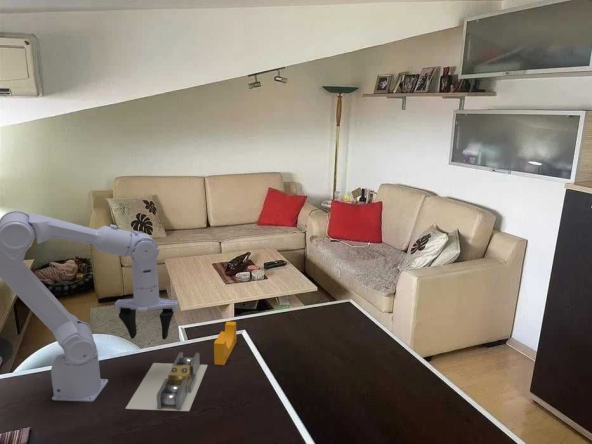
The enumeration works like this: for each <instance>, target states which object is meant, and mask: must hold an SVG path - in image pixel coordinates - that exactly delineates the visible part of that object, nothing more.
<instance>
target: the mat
mask: <svg viewBox="0 0 592 444" xmlns="http://www.w3.org/2000/svg"><path fill="white" fill-rule="evenodd" d="M173 364H174V363H168V362H167V363H166V362H165V363H164V362H163V363H162V362H161V363H160V362H152V365H151V367H149V370H148V371H147V372H146V374H145V376H144V377H143V379H142V381H141V382H140V384H139V385H138V387H137V389H136V390H135V392H134V393H133V395H132V396H131V398H130V400H129V402H128V404H127V405H126V406H125V409H126V410H148V411H172V412H173V411H174V412H190V410H191V408H192V405H193V402H194V400H195V398H196V395H197V393H198V390H199V389H200V388H199V387H200V386H201V383H202V380H203V377H204V375H205V373H206V370H207V368H208V366H209V365H208V364H200V366H199V368H198V370H197V373H196V382H195V384H194V386H193V389H192V391H191V393H187V396H186V398H185V400H184V403H183V405H182V407H181V409H180V410H177V408H176V405H163V407H162V409H157V393H158V391H159V390H160V388H161V386H162V384H163V382H164V380H165V379H167V378H168V375H169V373H170V371H171V369H172V367H173ZM187 390H188V388H187Z"/></svg>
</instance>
